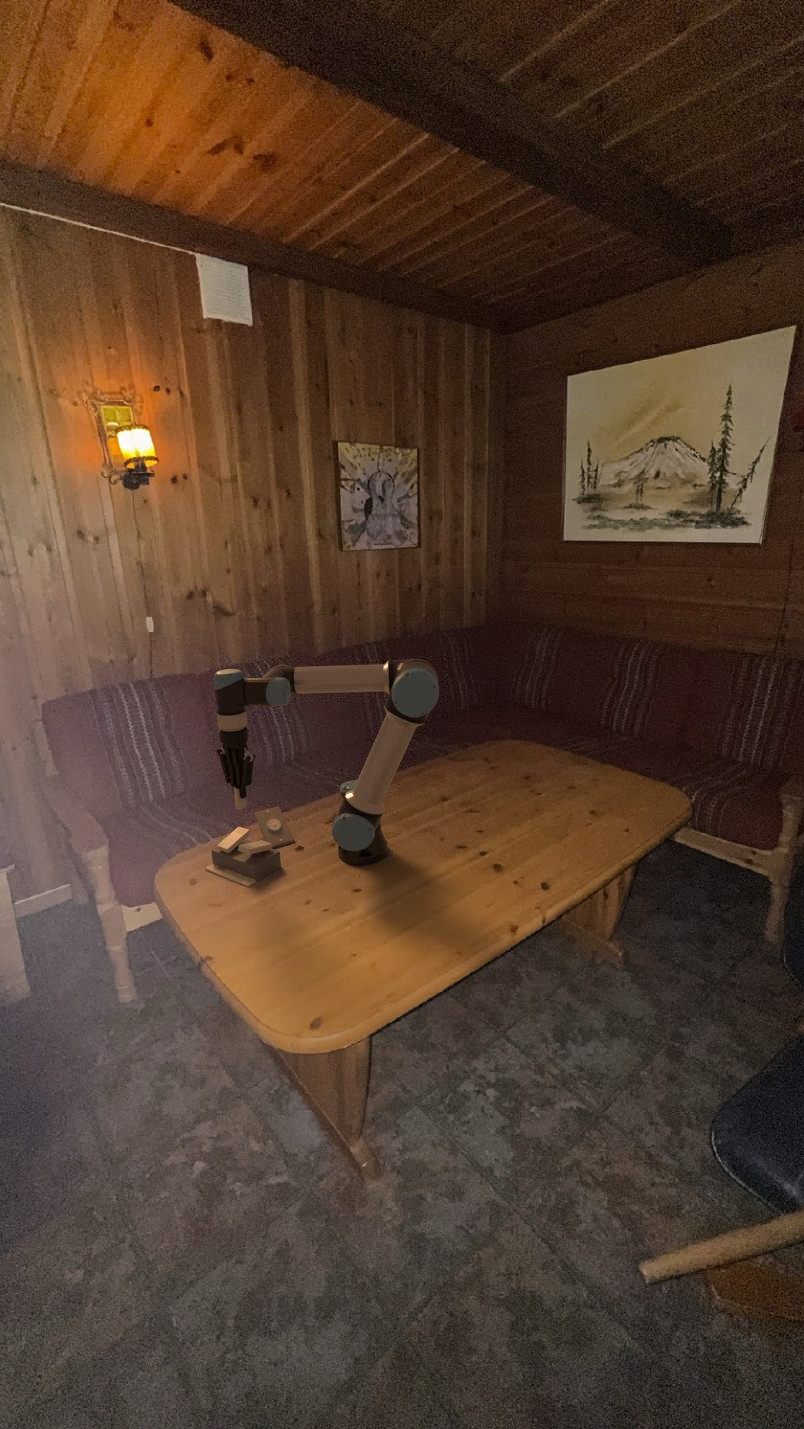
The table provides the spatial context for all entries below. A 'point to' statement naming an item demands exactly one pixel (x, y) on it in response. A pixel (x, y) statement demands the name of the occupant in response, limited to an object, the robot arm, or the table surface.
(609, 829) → the table surface
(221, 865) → the console
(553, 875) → the table surface
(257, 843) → the rocker sage
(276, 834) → the light switch
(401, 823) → the table surface
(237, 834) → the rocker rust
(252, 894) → the table surface
